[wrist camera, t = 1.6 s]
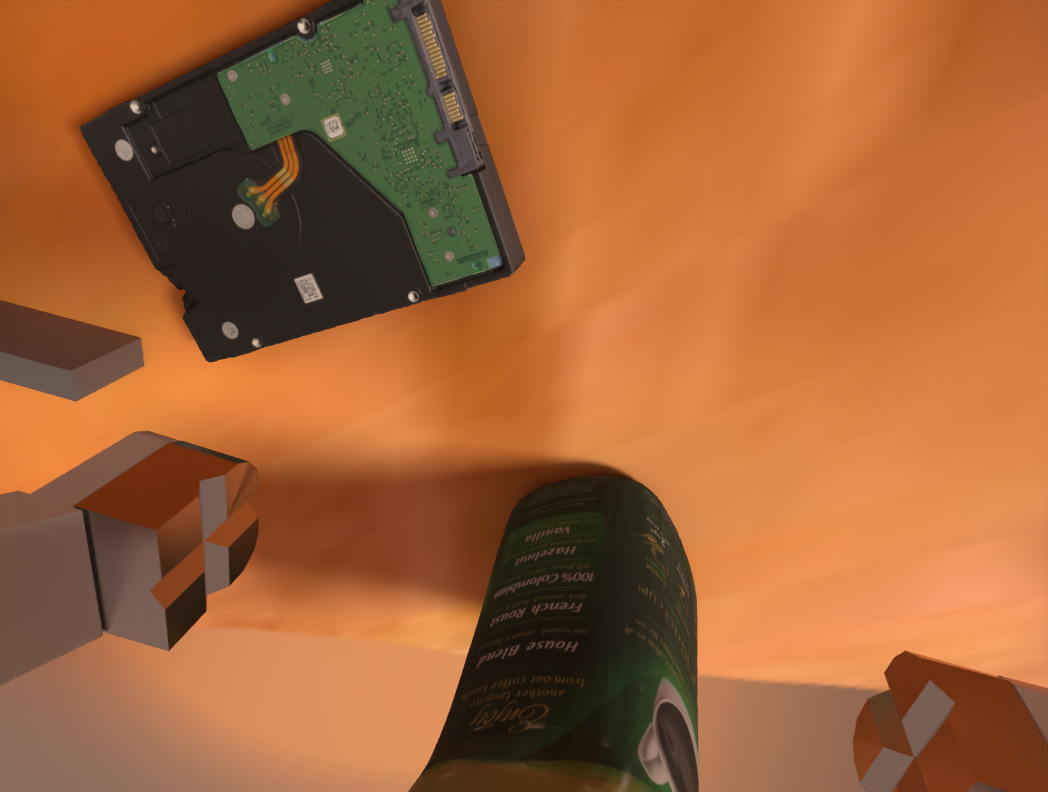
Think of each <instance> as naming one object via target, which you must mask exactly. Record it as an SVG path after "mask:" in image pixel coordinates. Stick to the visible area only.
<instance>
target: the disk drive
mask: <svg viewBox="0 0 1048 792" xmlns="http://www.w3.org/2000/svg"><path fill="white" fill-rule="evenodd" d="M80 129H81V132H82V135H83V137H84V139H85V140H86V142H87V144H88V146H89V148H90V150H91V151H92V153H93V155H94V157H95V158H96V160H97V162H98V164H99V166H100V167H101V169H102V171H103V173H104V175H105V177H106V178H107V180H108V181H109V182H110V183H111V186H112V189H113V190H114V192H115V194H116V195H117V198H118V200H119V201H120V203H121V205H122V207H123V209H124V211H125V213H126V214H127V216H128V218H129V220H130V221H131V223H132V226H133V228H134V230H135V232H136V234H137V235H138V238H139V239H140V241H141V242H142V244H143V246H144V248H145V250H146V252H147V254H148V256H149V258H150V260H151V261H152V263H153V265H154V267H155V268H156V270H158V271H160V272H161V273H162V274H163V275H164V276H166V277H167V278H168V279H169V281H170V282H171V283H173V284H174V285H175V286H176V288H177V289H179V290H181V289H184V290H185V291H186V294H185V295H184V296H183V297H182V300H183V302H184V308H185V311H186V313H184V315H183V320H184V321H185V323H186V325H187V327H188V328H189V330H190V332H191V334H192V335H193V338H194V339H195V341H196V343H197V345H198V347H199V349H200V350H201V352H202V354H203V356H204V358H205V359H206V361H208V362H215V361H218V360H221V359H226V358H230V357H231V358H234V357H237V356H240V355H244V354H247V353H251V352H253V351H256V350H258V349H261V348H264V347H267V346H271V345H275V344H279V343H282V342H285V341H288V340H292V339H295V338H299V337H301V336H305V335H309V334H312V333H316V332H320V331H323V330H326V329H330V328H334V327H336V326H339V325H343V324H347V323H351V322H354V321H358V320H360V319H363V318H367V317H371V316H374V315H377V314H384V313H385V312H389V311H392V310H395V309H398V308H399V309H400V308H403V307H407V306H410V305H412V304H416V303H420V302H421V301H426V300H428V299H433V298H438V297H443V296H447V295H451V294H455V293H457V292H463V291H466V290H468V289H469V288H471V287H474V286H477V285H481V284H485V283H488V282H492V281H496V280H499V279H501V278H505V277H509V276H510V275H512V274H513V273H514V272H515V271H516V270H517V269H518V268H519V267H520V265H521V264H522V263H523V262H524V260H525V255H524V251H523V249H522V246H521V243H520V240H519V237H518V234H517V231H516V228H515V225H514V222H513V219H512V216H511V212H510V209H509V206H508V203H507V200H506V197H505V194H504V191H503V188H502V185H501V182H500V179H499V175H498V172H497V169H496V166H495V163H494V160H493V157H492V154H491V151H490V148H489V145H488V143H487V141H486V139H485V136H484V133H483V129H482V126H481V123H480V120H479V117H478V112H477V109H476V106H475V103H474V100H473V97H472V94H471V91H470V88H469V85H468V82H467V78H466V75H465V73H464V70H463V67H462V63H461V60H460V57H459V54H458V52H457V49H456V46H455V42H454V39H453V36H452V34H451V30H450V27H449V24H448V21H447V18H446V15H445V12H444V9H443V6H442V3H441V0H332V1H330V2H327V3H326V4H324V5H323V6H322V7H320V8H319V9H317V10H315V11H313V12H311V13H309V14H308V15H304V17H300V18H299V19H297V20H295V21H292V22H290V23H288V24H286V25H284V26H283V27H280V28H278V29H276V30H274V31H272V32H269V33H267V34H265V35H264V36H261V37H259V38H257V39H256V40H253V41H250V42H248V43H246V44H244V45H242V46H241V47H239V48H237V49H235V50H232V51H230V52H228V53H226V54H225V55H222V56H220V57H219V58H217V59H214V60H212V61H210V62H209V63H207V64H205V65H203V66H201V67H199V68H196V69H194V70H192V71H190V72H189V73H187V74H184V75H182V76H180V77H178V78H176V79H174V80H172V81H170V82H168V83H166V84H164V85H162V86H160V87H158V88H155V89H153V90H151V91H149V92H147V93H145V94H144V95H142V96H139V97H138V98H135V99H134V100H129V101H127V102H124V103H122V104H120V105H117V106H115V107H114V108H111V109H109V110H108V111H106V112H104V113H103V114H102V115H101V116H99V117H97V118H95V119H93V120H92V121H90V122H88V123H86V124H83V125H81V127H80Z"/></svg>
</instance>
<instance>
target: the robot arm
mask: <svg viewBox="0 0 1048 792" xmlns="http://www.w3.org/2000/svg"><path fill="white" fill-rule="evenodd" d="M257 490H258V483H257V469H256V468H255V467H254V466H253V465H252V464H251V463H250V462H248V461H245V460H242V459H239V458H235V457H232V456H229V455H226V454H223V453H220V452H216V451H213V450H210V449H207V448H204V447H200V446H197V445H194V444H191V443H188V442H184V441H178V440H176V439H173V438H170V437H166V436H163V435H160V434H157V433H153V432H150V431H141V432H134V433H132V434H130V435H129V436H127V437H125V438H124V439H122V440H120V441H119V442H117V443H115V444H114V445H112V446H110V447H108V448H107V449H105V450H103V451H102V452H100V453H98V454H97V455H95V456H93V457H92V458H90V459H88V460H87V461H85V462H83V463H82V464H80V465H78V466H77V467H75V468H73V469H72V470H70V471H68V472H66V473H65V474H63V475H61V476H60V477H58V478H56V479H55V480H53V481H51V482H50V483H48V484H46V485H45V486H43V487H41V488H40V489H38V490H36V491H35V492H33V493H31V494H28V493H24V492H21V491H15V492H10V493H6V494H1V495H0V685H2V684H4V683H6V682H9V681H11V680H13V679H15V678H17V677H19V676H21V675H23V674H25V673H27V672H29V671H31V670H33V669H35V668H38V667H40V666H41V665H44V664H46V663H48V662H50V661H52V660H54V659H56V658H58V657H60V656H62V655H64V654H66V653H68V652H71V651H73V650H75V649H77V648H79V647H81V646H83V645H85V644H87V643H89V642H91V641H93V640H95V639H98V638H100V637H101V636H103V632H106V633H109V634H113V635H116V636H119V637H123V638H126V639H129V640H133V641H136V642H140V643H143V644H146V645H150V646H153V647H157V648H160V649H163V650H167V651H169V650H170V649H171V648H172V647H173V646H174V645H175V644H176V643H177V642H178V641H179V640H180V639H181V638H182V637H183V636H184V634H185V633H186V632H187V631H188V630H189V629H190V628H191V627H192V626H193V625H194V624H195V623H196V622H197V621H198V620H199V618H200V617H201V616H202V615H203V614H204V613H205V612H206V610H207V595H208V594H211V593H213V592H216V591H218V590H221V589H223V588H226V587H228V586H230V585H231V584H232V583H233V582H234V580H235V579H236V578H237V577H238V576H239V575H240V574H241V573H242V571H243V570H244V568H245V567H246V565H247V563H248V561H249V559H250V557H251V555H252V553H253V551H254V549H255V544H256V540H257V536H258V516H257V515H256V513H255V512H254V510H253V508H252V507H251V505H250V504H249V502H248V501H247V500H248V499H249V498H250V497H251V496H252V495H253V494H254V493H255V492H256V491H257ZM884 674H885V677H886V680H887V683H888V686H889V689H890V690H887V691H885V692H883V693H880V694H878V695H876V696H873V697H871V698H868V699H867V701H866V703H865V705H864V706H863V708H862V710H861V712H860V714H859V715H858V717H857V721H856V727H855V732H854V738H853V751H854V763H855V766H856V770H857V774H858V778H859V781H860V784H861V785H862V786H863V787H864V789H865V790H866V791H867V792H1048V688H1044V687H1041V686H1037V685H1033V684H1029V683H1025V682H1022V681H1018V680H1014V679H1010V678H1006V677H1003V676H994V675H991V674H987V673H984V672H980V671H977V670H973V669H970V668H966V667H962V666H959V665H955V664H952V663H948V662H945V661H941V660H938V659H934V658H930V657H927V656H923V655H920V654H916V653H913V652H909V651H906V650H905V651H904V652H902V653H901V654H899V655H897V656H896V657H894V658H893V660H892V662H891V663H890V665H889V666H888V668H887V669H886V671H885V672H884Z"/></svg>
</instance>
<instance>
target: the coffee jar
mask: <svg viewBox="0 0 1048 792" xmlns="http://www.w3.org/2000/svg"><path fill="white" fill-rule="evenodd" d="M698 785H699V782H698V707H697V598H696V591H695V585H694V580H693V576H692V572H691V567H690V565H689V562H688V558H687V556H686V553H685V551H684V548H683V545H682V542H681V540H680V538H679V535H678V532H677V530H676V528H675V526H674V524H673V523H672V521H671V518H670V517H669V515H668V514H667V511H666V510H665V508H664V507H663V505H662V503H661V501H660V500H659V499H658V498H657V496H656V495H655V494H654V493H653V492H652V491H650V490H649V489H648V488H647V487H645V486H644V485H643V484H641V483H639V482H636V481H633V480H631V479H629V478H625V477H622V476H616V475H592V476H583V477H577V478H571V479H566V480H562V481H559V482H555V483H552V484H549V485H546V486H544V487H541V488H539V489H536V490H534V491H532V492H530V493H529V494H527V495H526V496H525V497H523V498H522V499H521V500H520V501H519V502H518V503H517V504H516V506H515V507H514V509H513V511H512V513H511V515H510V518H509V521H508V523H507V526H506V529H505V532H504V535H503V538H502V541H501V544H500V547H499V550H498V552H497V556H496V560H495V563H494V567H493V571H492V574H491V578H490V582H489V585H488V589H487V593H486V596H485V600H484V603H483V607H482V610H481V613H480V617H479V620H478V623H477V627H476V630H475V633H474V636H473V640H472V643H471V646H470V648H469V652H468V655H467V658H466V661H465V665H464V668H463V671H462V674H461V677H460V681H459V683H458V687H457V690H456V693H455V696H454V699H453V702H452V705H451V708H450V711H449V714H448V716H447V719H446V722H445V725H444V727H443V730H442V732H441V735H440V737H439V740H438V742H437V744H436V747H435V749H434V751H433V754H432V756H431V758H430V760H429V762H428V764H427V765H426V767H425V769H424V770H423V772H422V774H421V775H420V777H419V778H418V779H417V780H416V782H415V783H414V784H413V786H412V787H411V788H410V790H409V791H408V792H699V787H698Z"/></svg>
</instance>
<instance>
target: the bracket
mask: <svg viewBox="0 0 1048 792" xmlns="http://www.w3.org/2000/svg"><path fill="white" fill-rule="evenodd" d="M143 366H144V362H143V354H142V346H141V338H138V337H134V336H131V335H127V334H123V333H119V332H116V331H112V330H108V329H104V328H101V327H97V326H93V325H89V324H86V323H82V322H78V321H74V320H71V319H67V318H63V317H59V316H56V315H52V314H48V313H45V312H41V311H37V310H33V309H30V308H26V307H22V306H18V305H15V304H11V303H7V302H3V301H0V380H2V381H6V382H9V383H13V384H16V385H20V386H23V387H27V388H30V389H34V390H38V391H41V392H45V393H48V394H52V395H55V396H59V397H62V398H66V399H69V400H73V401H78V400H80V399H82V398H84V397H86V396H88V395H89V394H91V393H93V392H95V391H97V390H99V389H101V388H103V387H105V386H107V385H109V384H110V383H112V382H114V381H116V380H118V379H120V378H122V377H124V376H126V375H128V374H129V373H131V372H133V371H135V370H137V369H139V368H141V367H143Z"/></svg>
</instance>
